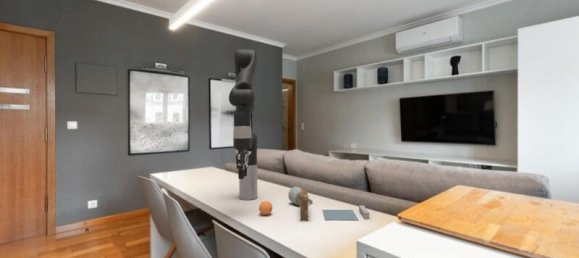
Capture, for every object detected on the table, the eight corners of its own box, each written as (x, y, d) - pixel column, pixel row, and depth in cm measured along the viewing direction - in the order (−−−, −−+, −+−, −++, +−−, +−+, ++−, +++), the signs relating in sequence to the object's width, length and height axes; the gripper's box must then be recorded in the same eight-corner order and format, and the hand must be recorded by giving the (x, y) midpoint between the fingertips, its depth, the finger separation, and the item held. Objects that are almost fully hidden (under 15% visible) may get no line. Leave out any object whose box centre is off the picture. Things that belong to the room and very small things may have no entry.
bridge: (300, 220, 107) (300, 196, 107) (300, 209, 122) (300, 188, 122) (308, 220, 107) (308, 196, 107) (307, 209, 122) (307, 188, 121)
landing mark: (324, 220, 107) (324, 219, 107) (322, 210, 120) (322, 209, 120) (358, 220, 107) (358, 219, 107) (352, 210, 120) (352, 209, 120)
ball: (256, 214, 116) (256, 200, 116) (268, 211, 119) (268, 198, 119) (262, 217, 111) (262, 203, 111) (274, 215, 114) (274, 201, 114)
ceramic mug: (295, 207, 124) (295, 190, 124) (287, 203, 132) (288, 187, 132) (315, 205, 129) (316, 188, 129) (307, 200, 136) (307, 185, 136)
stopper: (364, 219, 108) (364, 212, 108) (359, 211, 118) (359, 205, 118) (369, 219, 108) (369, 212, 108) (363, 211, 118) (363, 205, 118)
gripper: (247, 137, 108) (248, 180, 108) (254, 136, 122) (254, 174, 122) (229, 137, 108) (229, 180, 108) (237, 136, 123) (238, 174, 123)
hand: (242, 177), depth 115 cm, fingers open, 5 cm apart
